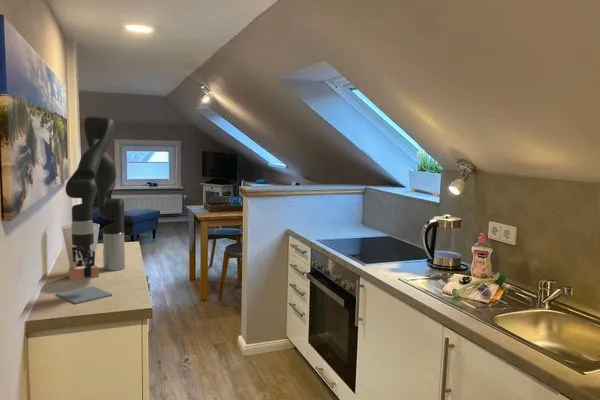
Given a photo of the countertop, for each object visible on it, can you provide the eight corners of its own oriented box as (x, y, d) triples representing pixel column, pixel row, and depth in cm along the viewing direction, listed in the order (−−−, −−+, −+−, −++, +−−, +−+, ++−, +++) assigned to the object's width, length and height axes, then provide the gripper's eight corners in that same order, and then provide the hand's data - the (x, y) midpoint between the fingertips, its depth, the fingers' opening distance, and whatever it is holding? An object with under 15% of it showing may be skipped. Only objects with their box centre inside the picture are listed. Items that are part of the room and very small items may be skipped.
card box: (93, 274, 184) (93, 264, 183) (98, 277, 180) (98, 266, 179) (69, 278, 178) (68, 267, 177) (73, 281, 174) (73, 270, 173)
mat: (56, 295, 179) (56, 293, 179) (92, 287, 190) (92, 285, 190) (75, 304, 169) (75, 302, 169) (112, 295, 180) (112, 294, 180)
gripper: (101, 233, 175) (102, 277, 177) (83, 228, 185) (84, 270, 186) (81, 235, 170) (83, 281, 171) (64, 231, 179) (65, 274, 180)
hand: (83, 275), depth 179 cm, fingers closed on card box, 5 cm apart
